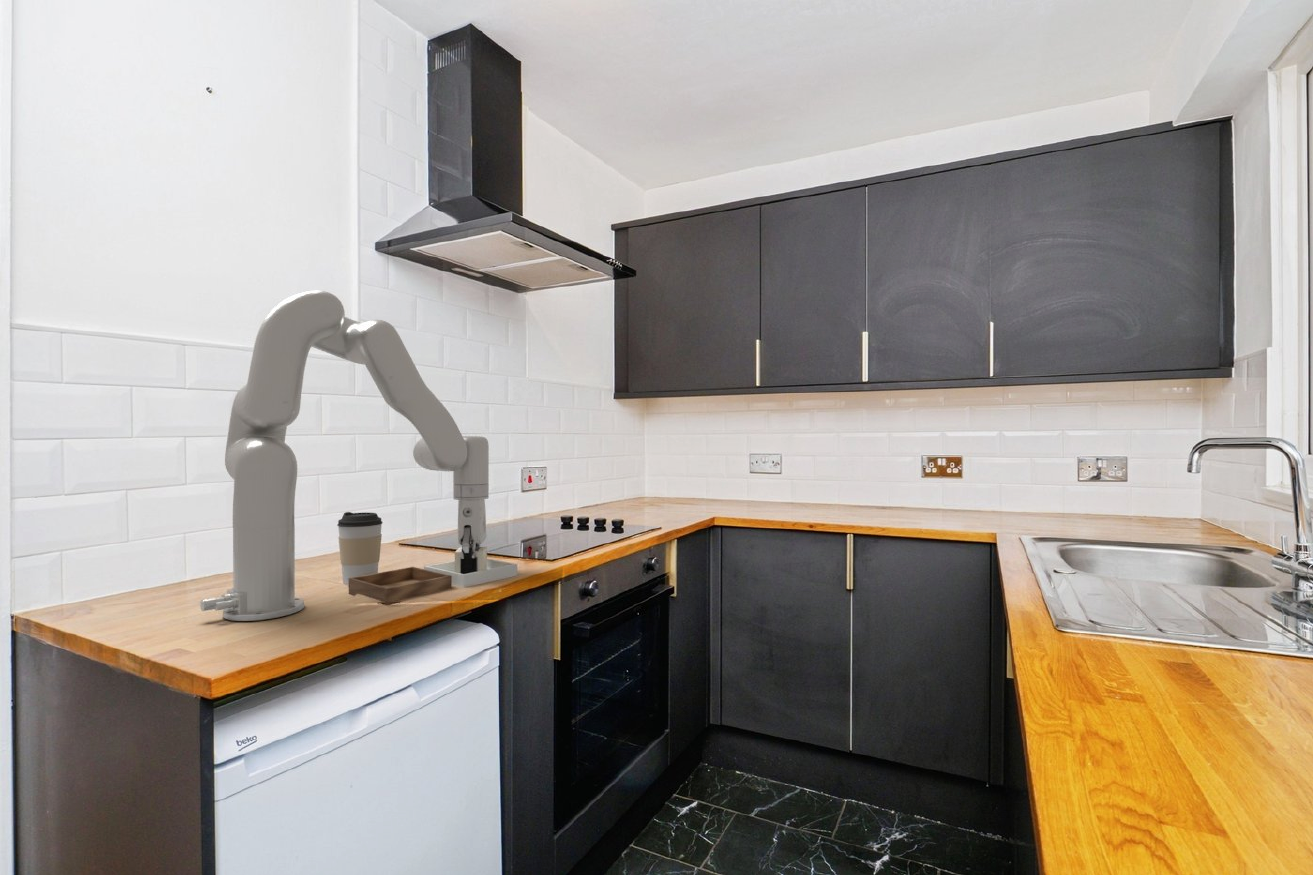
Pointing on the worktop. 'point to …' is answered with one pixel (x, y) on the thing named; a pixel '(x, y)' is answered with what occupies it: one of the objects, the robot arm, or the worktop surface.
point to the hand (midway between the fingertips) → (471, 572)
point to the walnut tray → (399, 584)
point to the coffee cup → (359, 544)
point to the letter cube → (479, 555)
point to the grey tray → (492, 573)
